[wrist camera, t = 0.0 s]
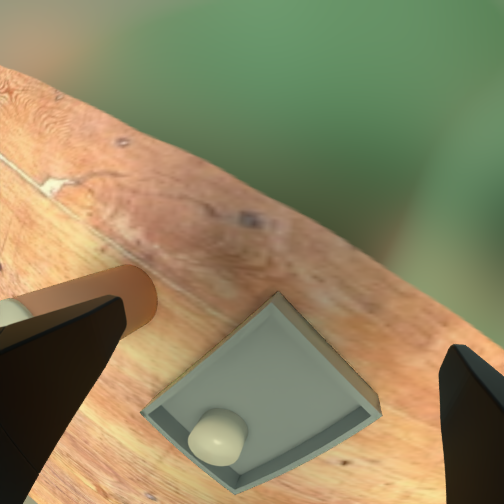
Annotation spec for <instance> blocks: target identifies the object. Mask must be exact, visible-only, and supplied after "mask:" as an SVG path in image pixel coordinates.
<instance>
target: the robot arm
mask: <svg viewBox="0 0 504 504" xmlns="http://www.w3.org/2000/svg"><path fill="white" fill-rule="evenodd" d="M126 326H127V318H126V313H125V308H124V302H123V300H122V298H121V297H119V296H115V295H111V294H108V295H105V296H101V297H98V298H95V299H91V300H88V301H85V302H81V303H78V304H75V305H72V306H68V307H65V308H62V309H58V310H55V311H52V312H48V313H45V314H42V315H39V316H35V317H32V318H29V319H25V320H22V321H19V322H16V323H12V324H9V325H7V326H2V327H0V504H23V502H24V501H25V499H26V497H27V495H28V493H29V492H30V490H31V488H32V486H33V484H34V483H35V481H36V479H37V477H38V476H39V474H38V473H40V472H41V470H42V468H43V467H44V465H45V463H46V461H47V460H48V458H49V456H50V455H51V453H52V451H53V450H54V448H55V446H56V445H57V443H58V441H59V440H60V438H61V436H62V435H63V433H64V431H65V430H66V428H67V427H68V425H69V423H70V422H71V420H72V418H73V417H74V415H75V414H76V412H77V410H78V409H79V407H80V406H81V404H82V403H83V401H84V399H85V398H86V396H87V395H88V393H89V392H90V390H91V389H92V387H93V386H94V384H95V382H96V381H97V379H98V378H99V376H100V375H101V373H102V372H103V370H104V368H105V367H106V365H107V363H108V361H109V359H110V357H111V356H112V354H113V352H114V350H115V348H116V346H117V344H118V342H119V340H120V339H121V337H122V335H123V333H124V331H125V329H126ZM439 392H440V420H441V433H442V442H443V452H444V463H445V478H446V503H447V504H504V376H503V375H502V374H500V373H499V372H498V371H497V370H496V369H494V368H493V367H492V366H491V365H489V364H488V363H487V362H486V361H485V360H483V359H482V358H481V357H480V356H478V355H477V354H476V353H475V352H474V351H472V350H471V349H470V348H469V347H467V346H466V345H459V344H453V345H451V346H450V347H449V349H448V351H447V354H446V356H445V358H444V361H443V363H442V365H441V367H440V370H439Z"/></svg>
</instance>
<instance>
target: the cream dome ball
mask: <svg viewBox="0 0 504 504" xmlns="http://www.w3.org/2000/svg"><path fill="white" fill-rule="evenodd" d="M247 436H248V427H247V425H246V423H245V421H244V420H243V419H242V418H241V417H240V416H239V415H237V414H236V413H234V412H232V411H230V410H227V409H221V408H215V409H210V410H208V411H206V412H205V413H204V414H203V415H202V417H201V418H200V420H199V421H198V423H197V424H196V426H195V427H194V429H193V430H192V432H191V433H190V435H189V437H188V445H189V448H190V449H191V451H192V452H193V454H194V455H195V456H196V457H198V458H199V459H200V460H202V461H204V462H206V463H208V464H211V465H215V466H228V465H231V464H233V463H235V462H236V461H237V460H238V458H239V455H240V453H241V451H242V448H243V446H244V443H245V441H246V438H247Z"/></svg>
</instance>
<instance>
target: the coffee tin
mask: <svg viewBox="0 0 504 504" xmlns="http://www.w3.org/2000/svg"><path fill="white" fill-rule="evenodd" d="M108 294H111V295H115V296H119V297H121V298H122V300H123V302H124V308H125V313H126V318H127V326H126V329H125V331H124V333H123V335H122V337H121V339H123V338H124V337H126V336H127V335H129V334H131V333H132V332H134V331H135V330H137V329H139V328H140V327H142V326H143V325H145V324H147V323H148V322H149V321H150V320H151V319H152V318H153V317H154V315H155V312H156V309H157V293H156V290H155V287H154V285H153V282H152V281H151V279H150V278H149V277H148V275H147V274H146V273H145V272H144V271H142V270H141V269H139V268H138V267H136V266H132V265H122V266H118V267H115V268H111V269H108V270H104V271H101V272H97V273H94V274H90V275H87V276H84V277H80V278H77V279H73V280H70V281H67V282H63V283H60V284H57V285H53V286H50V287H46V288H43V289H40V290H37V291H33V292H30V293H27V294H23V295H20V296H17V297H14V298H8V299H4V300H1V301H0V327H2V326H7V325H9V324H12V323H16V322H19V321H22V320H25V319H29V318H32V317H35V316H39V315H42V314H45V313H48V312H52V311H55V310H58V309H62V308H65V307H68V306H72V305H75V304H78V303H81V302H85V301H88V300H91V299H95V298H98V297H101V296H105V295H108ZM121 339H120V340H121Z"/></svg>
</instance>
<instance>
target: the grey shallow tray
mask: <svg viewBox="0 0 504 504" xmlns="http://www.w3.org/2000/svg"><path fill="white" fill-rule="evenodd" d="M215 408H221V409H227V410H230V411H232V412H234V413H236V414H237V415H239V416H240V417H241V418H242V419H243V420H244V421H245V423H246V425H247V427H248V436H247V438H246V441H245V443H244V446H243V448H242V451H241V453H240V455H239V458H238V460H237V461H236V462H235V463H233V464H231V465H228V466H215V465H211V464H208V463H206V462H204V461H202V460H200V459H199V458H198V457H196V456H195V455H194V454H193V452H192V451H191V449H190V448H189V445H188V437H189V435H190V433H191V432H192V430H193V429H194V427H195V426H196V424H197V423H198V421H199V420H200V418H201V417H202V415H203V414H204V413H205V412H206V411H208V410H210V409H215ZM140 413H141V415H142V416H143V417H144V418H145V419H146V420H147V421H148V422H150V423H151V424H152V425H153V426H154V427H155V428H156V429H157V430H158V431H159V432H160V433H161V434H162V435H163V436H164V437H165V438H166V439H167V440H168V441H169V442H171V443H172V444H173V445H174V446H175V447H176V448H177V449H178V450H179V451H181V452H182V453H183V454H184V455H185V456H186V457H188V458H189V459H190V460H191V461H192V462H193V463H195V464H196V465H197V466H198V467H199V468H201V469H202V470H203V471H204V472H206V473H207V474H208V475H209V476H211V477H212V478H213V479H214V480H216V481H217V482H218V483H219V484H221V485H222V486H223V487H225V488H226V489H227V490H229V491H230V492H231V493H233V494H234V495H236V494H238V493H241V492H243V491H246V490H248V489H251V488H253V487H255V486H258V485H260V484H262V483H264V482H267V481H269V480H271V479H273V478H275V477H278V476H280V475H282V474H284V473H286V472H288V471H290V470H292V469H294V468H296V467H298V466H300V465H302V464H304V463H306V462H308V461H309V460H311V459H313V458H315V457H317V456H319V455H320V454H322V453H324V452H326V451H328V450H329V449H331V448H333V447H334V446H336V445H338V444H340V443H341V442H343V441H344V440H346V439H348V438H349V437H351V436H353V435H354V434H356V433H357V432H359V431H360V430H362V429H364V428H365V427H367V426H368V425H370V424H371V423H373V422H374V421H376V420H377V419H379V418H380V417H381V416H382V411H381V407H380V402H379V398H378V395H377V394H376V393H375V392H374V391H373V390H372V389H371V388H370V386H369V385H368V384H367V383H366V382H365V381H364V380H363V379H362V378H361V377H360V376H359V375H358V374H357V373H356V372H355V371H354V370H353V369H352V368H351V367H350V366H349V365H348V364H347V363H346V362H345V360H344V359H343V358H342V357H341V356H340V355H339V354H338V353H337V352H336V351H335V350H334V349H333V348H332V347H331V346H330V345H329V344H328V343H327V342H326V341H325V340H324V339H323V338H322V336H321V335H320V334H319V333H318V332H317V331H316V330H315V329H314V328H313V327H312V326H311V325H310V324H309V323H308V322H307V321H306V320H305V319H304V318H303V317H302V315H301V314H300V313H299V312H298V311H297V310H296V309H295V308H294V307H293V306H292V305H291V304H290V303H289V302H288V301H287V300H286V299H285V298H284V297H283V296H282V294H281V293H280V292H279V291H278V292H276V293H275V294H274V295H273V296H272V297H271V298H270V299H269V300H268V301H266V302H265V303H264V304H263V305H262V306H261V307H260V308H259V309H258V310H256V311H255V312H254V313H253V314H252V315H251V316H250V317H248V318H247V319H246V320H245V321H244V322H243V323H242V324H241V325H239V326H238V327H237V328H236V329H235V330H234V331H233V332H231V333H230V334H229V335H228V336H227V337H226V338H224V339H223V340H222V341H221V342H220V343H219V344H217V345H216V346H215V347H214V348H213V349H212V350H210V351H209V352H208V353H207V354H206V355H205V356H203V357H202V358H201V359H200V360H199V361H197V362H196V363H195V364H194V365H193V366H192V367H190V368H189V369H188V370H187V371H186V372H184V373H183V374H182V375H181V376H180V377H178V378H177V379H176V380H175V381H173V382H172V383H171V384H170V385H169V386H167V387H166V388H165V389H164V390H163V391H161V392H160V393H159V394H158V395H156V396H155V397H154V398H153V399H152V400H151V401H150V402H149V403H148V404H147V405H146V406H145V407H144V408H143V409H142V410H141V412H140Z"/></svg>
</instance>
